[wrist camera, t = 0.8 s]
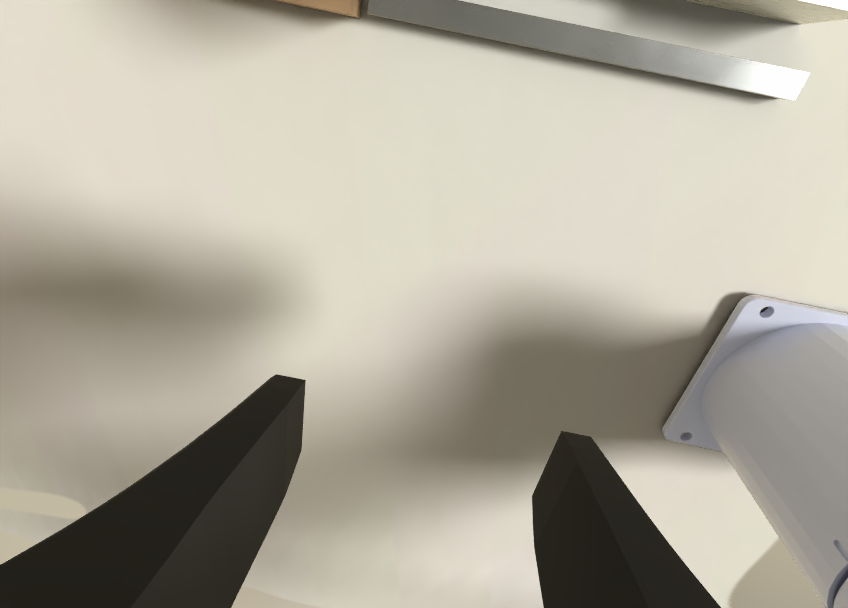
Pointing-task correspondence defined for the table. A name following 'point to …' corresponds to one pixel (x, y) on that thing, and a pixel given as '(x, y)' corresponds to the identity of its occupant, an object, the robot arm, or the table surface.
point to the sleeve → (595, 45)
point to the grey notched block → (786, 9)
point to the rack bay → (330, 6)
